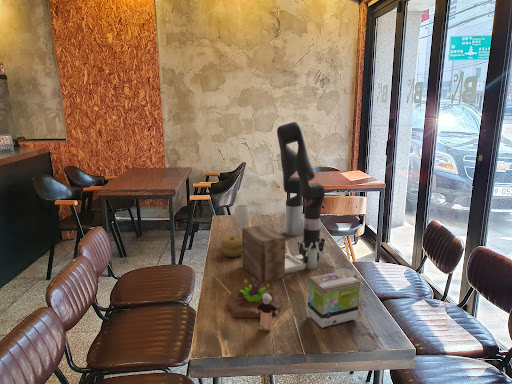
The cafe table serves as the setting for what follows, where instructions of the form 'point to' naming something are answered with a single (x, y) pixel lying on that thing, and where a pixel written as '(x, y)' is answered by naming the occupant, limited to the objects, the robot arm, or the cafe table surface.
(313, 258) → the pale green rounded cylinder
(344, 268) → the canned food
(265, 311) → the grandmother figurine
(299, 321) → the cafe table surface
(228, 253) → the pot
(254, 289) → the plant
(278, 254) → the wood grain block
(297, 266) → the tray
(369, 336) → the cafe table surface
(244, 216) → the wineglass
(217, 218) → the cafe table surface
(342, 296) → the tea box
